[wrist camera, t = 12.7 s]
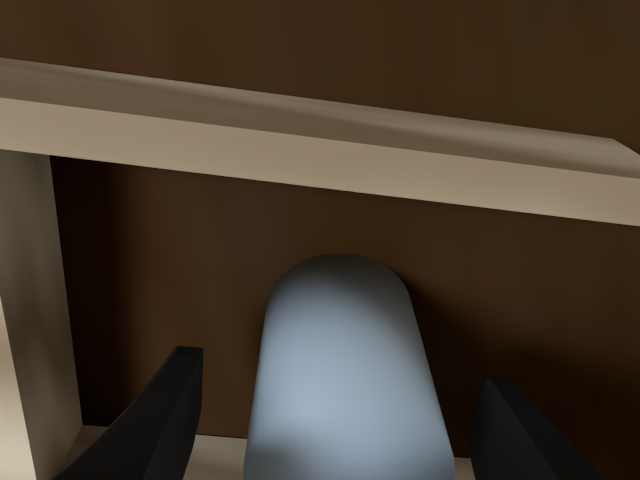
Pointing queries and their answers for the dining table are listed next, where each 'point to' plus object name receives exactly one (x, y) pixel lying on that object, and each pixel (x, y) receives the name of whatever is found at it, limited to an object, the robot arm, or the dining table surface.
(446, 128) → the frame
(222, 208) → the dining table surface
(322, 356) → the pale blue cylinder
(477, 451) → the robot arm
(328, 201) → the dining table surface
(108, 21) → the dining table surface
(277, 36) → the dining table surface
